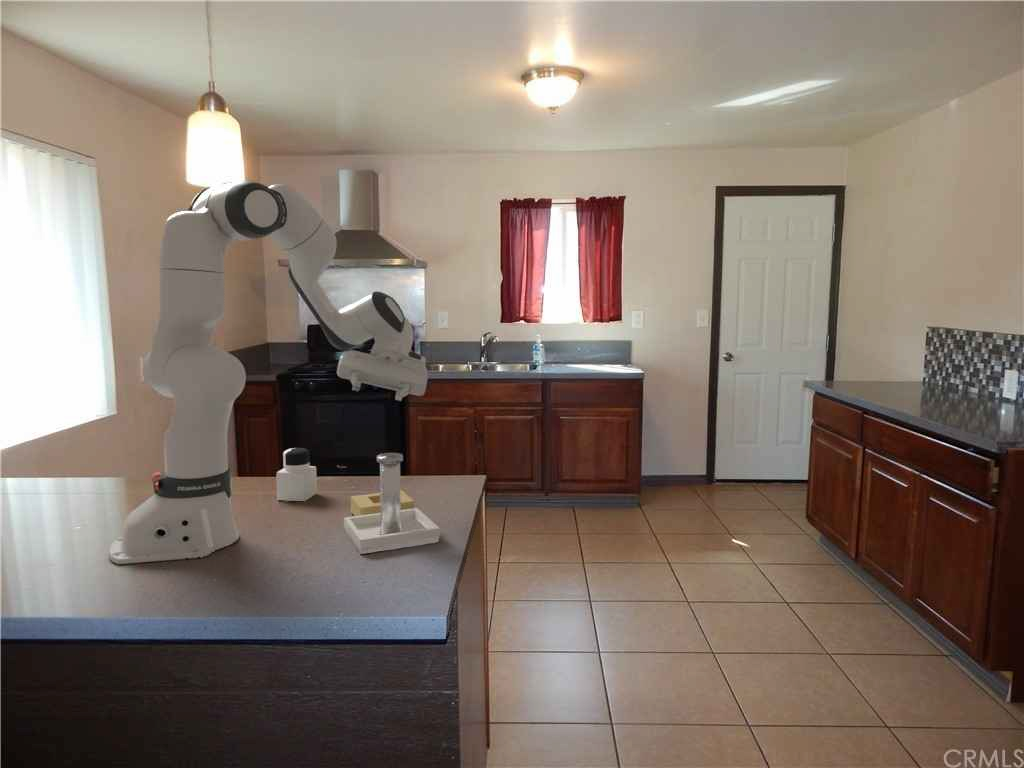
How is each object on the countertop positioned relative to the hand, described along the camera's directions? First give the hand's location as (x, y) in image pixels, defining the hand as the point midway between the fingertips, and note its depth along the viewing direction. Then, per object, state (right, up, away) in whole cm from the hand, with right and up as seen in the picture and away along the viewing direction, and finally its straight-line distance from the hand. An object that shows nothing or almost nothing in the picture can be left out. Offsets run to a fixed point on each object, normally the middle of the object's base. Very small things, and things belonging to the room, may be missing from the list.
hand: (377, 393), depth 143 cm
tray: (+5, -29, -9) cm, 31 cm away
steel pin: (+5, -28, -9) cm, 30 cm away
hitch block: (0, -28, +4) cm, 28 cm away
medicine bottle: (-23, -26, +16) cm, 38 cm away
